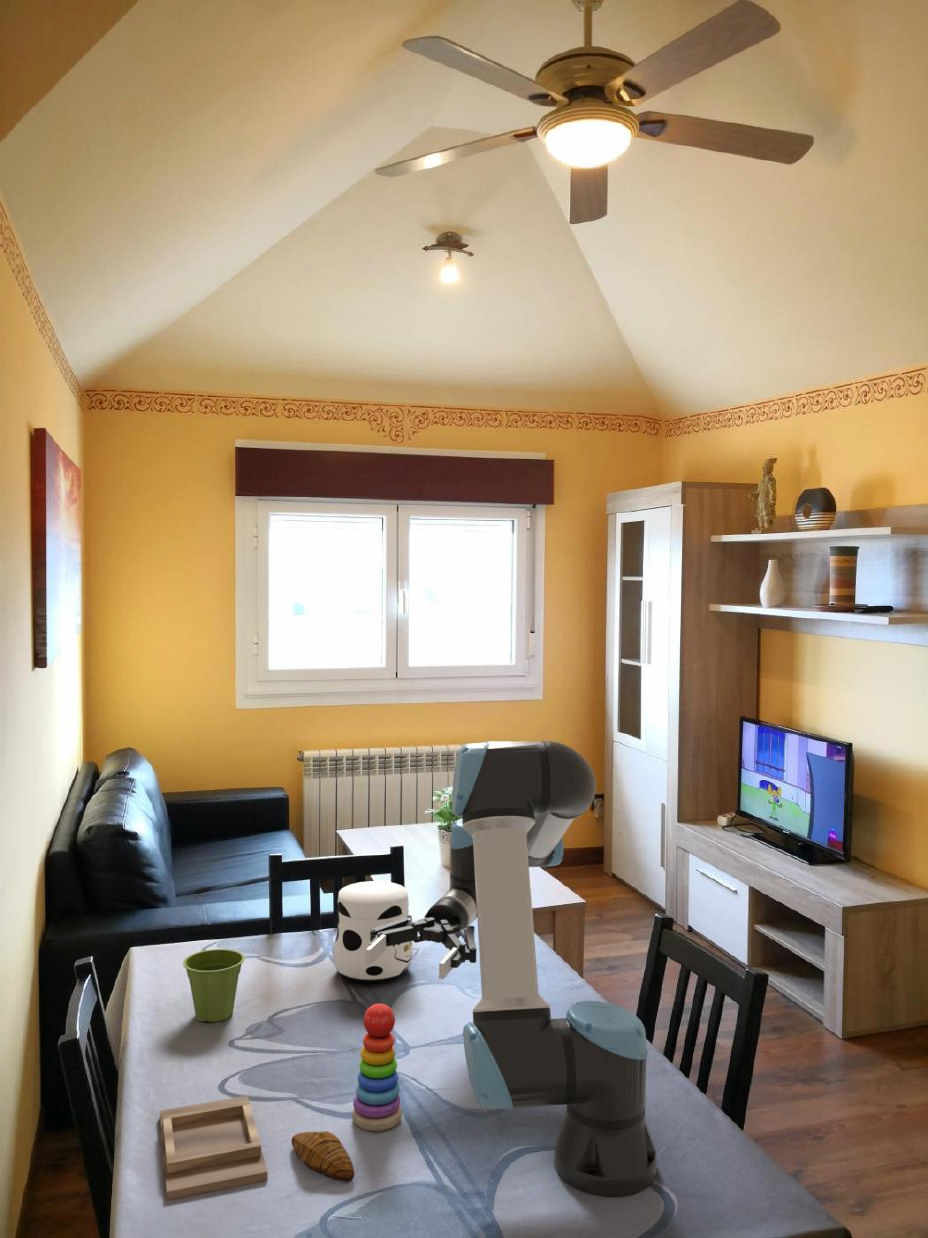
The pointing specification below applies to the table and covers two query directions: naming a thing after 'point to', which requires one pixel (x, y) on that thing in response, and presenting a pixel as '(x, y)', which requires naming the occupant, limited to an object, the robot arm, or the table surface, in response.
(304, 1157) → the croissant
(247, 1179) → the toy stand
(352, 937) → the milk container
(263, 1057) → the table surface
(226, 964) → the plant pot
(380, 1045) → the stacking toy
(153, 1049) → the table surface
